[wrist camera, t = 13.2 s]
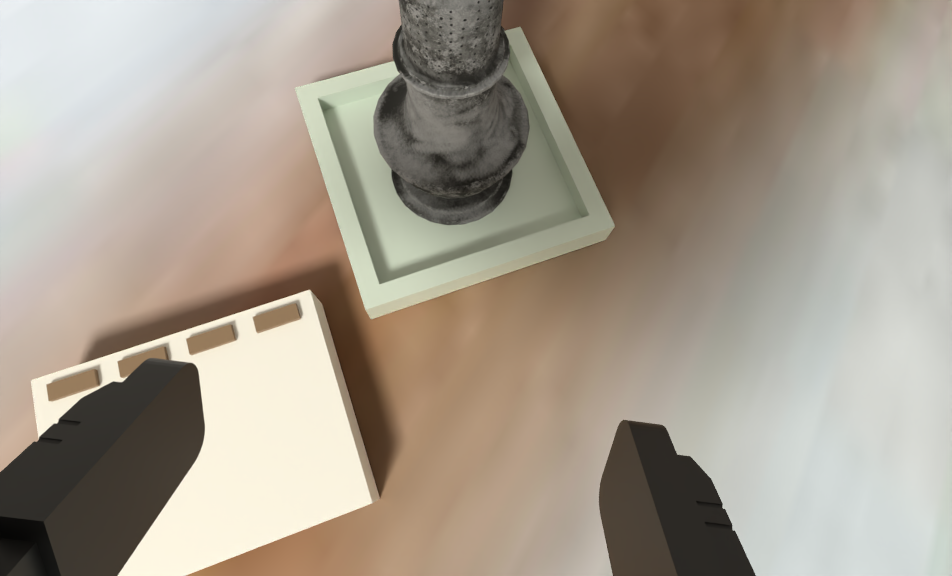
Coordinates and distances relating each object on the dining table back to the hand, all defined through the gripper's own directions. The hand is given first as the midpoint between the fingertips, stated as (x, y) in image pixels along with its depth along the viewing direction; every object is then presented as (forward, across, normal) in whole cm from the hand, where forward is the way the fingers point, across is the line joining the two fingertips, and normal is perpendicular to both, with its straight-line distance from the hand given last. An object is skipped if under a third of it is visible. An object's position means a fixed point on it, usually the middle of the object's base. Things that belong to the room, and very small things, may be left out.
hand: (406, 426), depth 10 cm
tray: (+16, 0, -1) cm, 16 cm away
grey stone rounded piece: (+16, 0, -1) cm, 16 cm away
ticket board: (+8, +8, +8) cm, 14 cm away
